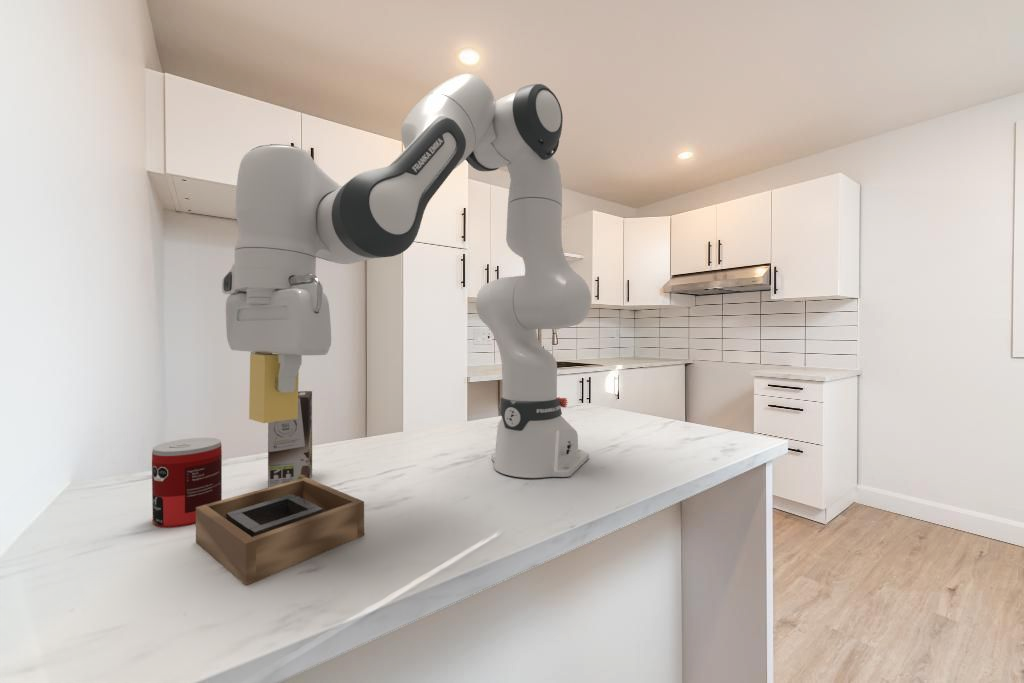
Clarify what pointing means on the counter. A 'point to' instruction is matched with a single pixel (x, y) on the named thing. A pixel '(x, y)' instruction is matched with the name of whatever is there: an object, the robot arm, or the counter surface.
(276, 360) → the plug
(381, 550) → the counter surface
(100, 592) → the counter surface
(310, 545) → the walled box
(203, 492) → the canned food
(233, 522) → the socket
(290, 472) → the coffee box
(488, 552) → the counter surface
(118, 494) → the counter surface
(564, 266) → the robot arm
